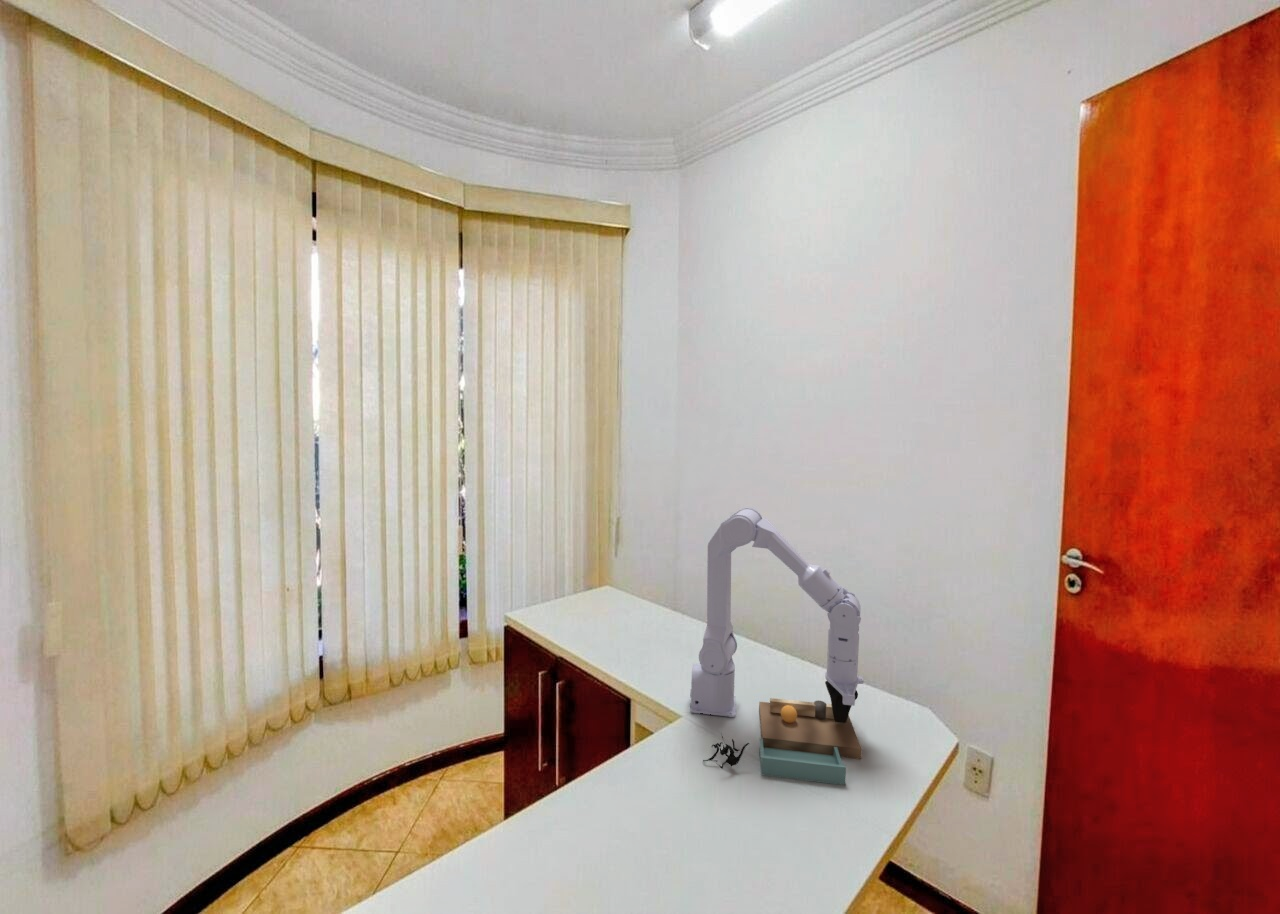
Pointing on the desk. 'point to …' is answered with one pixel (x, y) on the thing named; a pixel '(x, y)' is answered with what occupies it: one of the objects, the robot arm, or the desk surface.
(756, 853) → the desk surface
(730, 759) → the creature
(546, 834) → the desk surface
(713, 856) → the desk surface
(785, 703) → the lever
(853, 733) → the board
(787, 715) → the ball
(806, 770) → the teal shallow crate
